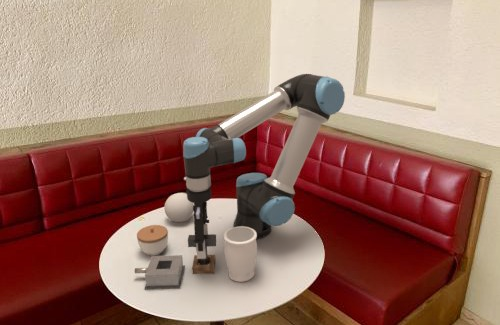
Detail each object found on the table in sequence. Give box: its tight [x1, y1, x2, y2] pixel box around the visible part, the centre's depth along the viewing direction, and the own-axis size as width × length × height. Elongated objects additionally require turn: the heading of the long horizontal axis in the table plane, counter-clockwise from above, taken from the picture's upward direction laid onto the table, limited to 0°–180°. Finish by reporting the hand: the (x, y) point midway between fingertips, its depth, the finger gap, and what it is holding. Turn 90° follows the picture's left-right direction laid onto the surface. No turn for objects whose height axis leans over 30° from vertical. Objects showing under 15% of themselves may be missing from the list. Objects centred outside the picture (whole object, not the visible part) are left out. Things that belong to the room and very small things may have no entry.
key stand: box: [191, 254, 216, 275], centre depth 127 cm, size 7×7×2 cm
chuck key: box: [187, 233, 217, 265], centre depth 125 cm, size 9×3×12 cm, turn 91°
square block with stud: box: [134, 254, 186, 290], centre depth 121 cm, size 15×11×5 cm
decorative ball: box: [163, 192, 194, 223], centre depth 156 cm, size 12×12×12 cm
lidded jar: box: [136, 224, 169, 257], centre depth 135 cm, size 11×11×9 cm
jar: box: [223, 226, 258, 283], centre depth 121 cm, size 11×10×15 cm
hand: (203, 249), depth 125 cm, fingers open, 9 cm apart
